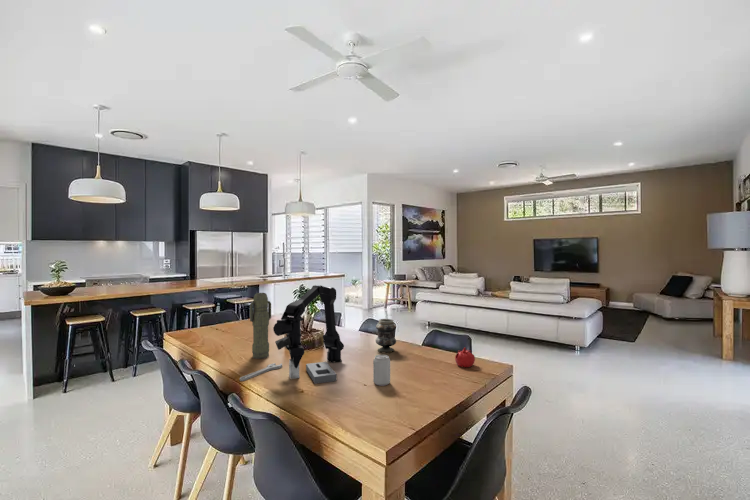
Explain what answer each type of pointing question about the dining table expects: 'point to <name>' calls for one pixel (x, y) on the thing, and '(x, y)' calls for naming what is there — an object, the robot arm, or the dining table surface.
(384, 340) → the apothecary jar
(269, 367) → the adjustable wrench
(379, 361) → the can
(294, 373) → the steel peg
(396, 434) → the dining table surface
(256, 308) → the thermos
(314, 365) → the socket plate
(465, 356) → the pomegranate
